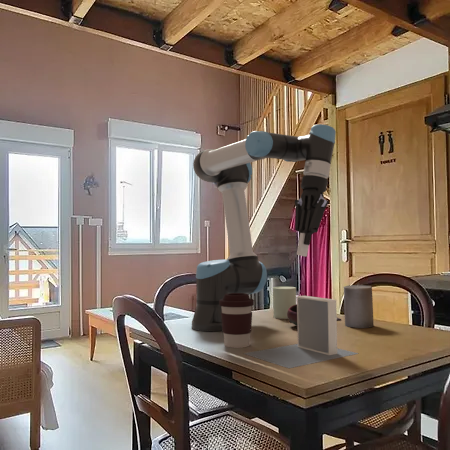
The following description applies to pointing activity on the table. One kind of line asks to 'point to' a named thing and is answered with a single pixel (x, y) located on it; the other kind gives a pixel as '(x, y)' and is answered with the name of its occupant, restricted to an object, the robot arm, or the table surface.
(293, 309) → the bowl
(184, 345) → the table surface
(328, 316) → the tile
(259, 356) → the mat
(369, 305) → the pillar candle
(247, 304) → the coffee cup
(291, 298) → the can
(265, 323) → the table surface
